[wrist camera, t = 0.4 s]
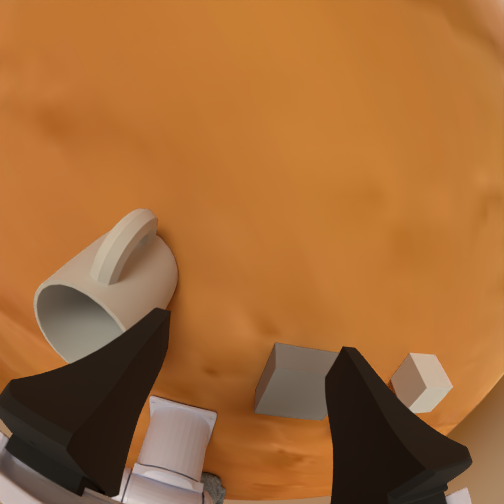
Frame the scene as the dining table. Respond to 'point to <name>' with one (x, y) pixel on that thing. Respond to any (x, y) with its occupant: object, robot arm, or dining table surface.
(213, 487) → the koala plush
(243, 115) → the dining table surface
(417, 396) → the beige block
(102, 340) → the cup
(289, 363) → the grey slab
